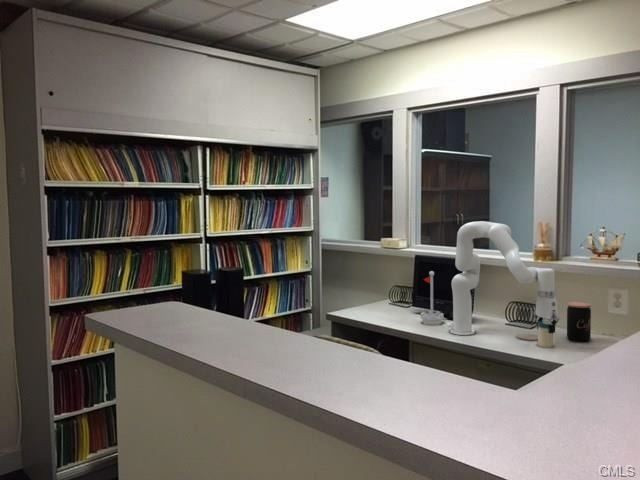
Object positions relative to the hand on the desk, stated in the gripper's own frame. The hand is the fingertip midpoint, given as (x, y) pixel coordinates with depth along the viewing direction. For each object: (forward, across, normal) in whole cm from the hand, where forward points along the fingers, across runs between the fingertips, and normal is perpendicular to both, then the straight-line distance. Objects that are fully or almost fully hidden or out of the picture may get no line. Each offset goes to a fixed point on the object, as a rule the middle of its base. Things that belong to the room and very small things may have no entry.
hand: (546, 330), depth 257 cm
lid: (-4, 0, 0) cm, 4 cm away
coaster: (+7, +15, -2) cm, 17 cm away
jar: (+7, 0, 0) cm, 7 cm away
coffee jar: (+7, +2, -22) cm, 23 cm away
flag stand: (+7, +65, +23) cm, 69 cm away
